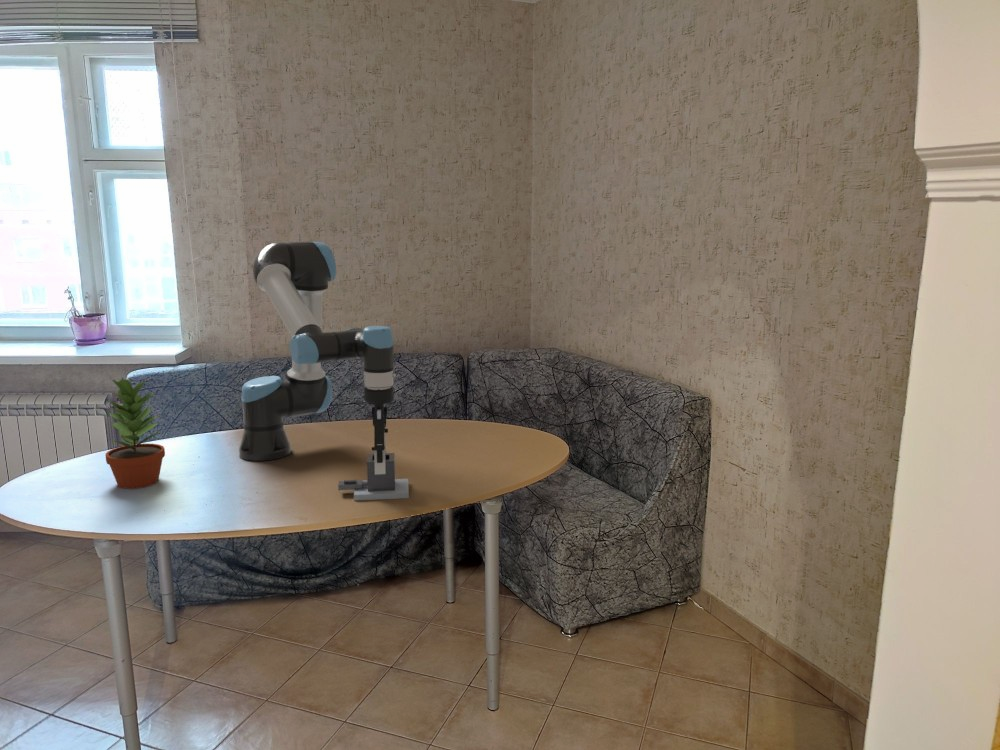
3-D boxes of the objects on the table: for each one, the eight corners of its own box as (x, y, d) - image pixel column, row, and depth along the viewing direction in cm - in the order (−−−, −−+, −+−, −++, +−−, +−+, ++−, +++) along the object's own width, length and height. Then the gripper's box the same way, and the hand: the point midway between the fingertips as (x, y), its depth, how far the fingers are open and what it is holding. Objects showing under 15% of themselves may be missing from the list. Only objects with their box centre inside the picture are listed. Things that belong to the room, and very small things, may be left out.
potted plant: (180, 478, 210) (171, 372, 204) (130, 495, 197) (119, 382, 191) (146, 469, 217) (137, 366, 211) (96, 484, 204) (84, 376, 198)
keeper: (353, 500, 194) (352, 472, 193) (356, 485, 205) (355, 459, 203) (408, 498, 196) (408, 470, 194) (408, 483, 207) (407, 457, 205)
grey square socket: (337, 492, 195) (336, 463, 194) (339, 483, 202) (338, 454, 200) (395, 490, 197) (394, 461, 196) (395, 481, 204) (394, 453, 202)
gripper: (393, 397, 183) (395, 481, 188) (393, 376, 207) (395, 450, 212) (362, 398, 182) (364, 482, 186) (366, 376, 206) (367, 451, 211)
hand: (380, 465), depth 199 cm, fingers open, 13 cm apart
